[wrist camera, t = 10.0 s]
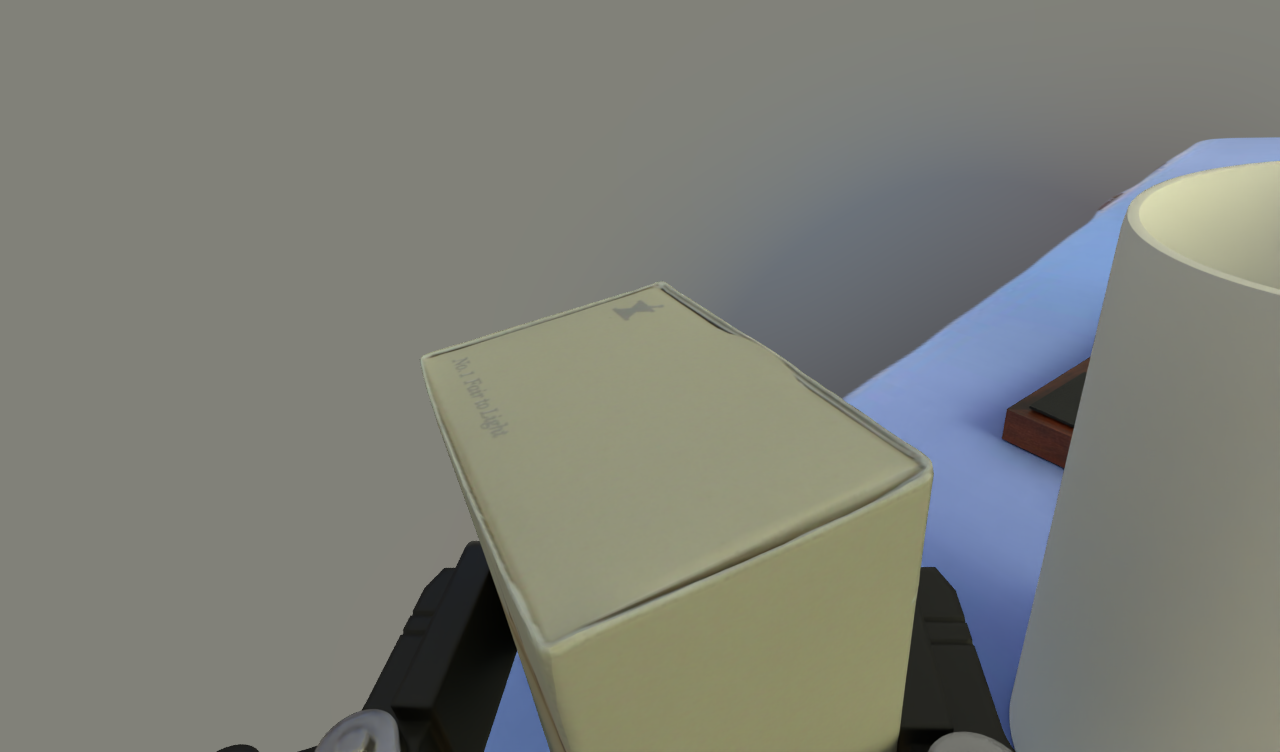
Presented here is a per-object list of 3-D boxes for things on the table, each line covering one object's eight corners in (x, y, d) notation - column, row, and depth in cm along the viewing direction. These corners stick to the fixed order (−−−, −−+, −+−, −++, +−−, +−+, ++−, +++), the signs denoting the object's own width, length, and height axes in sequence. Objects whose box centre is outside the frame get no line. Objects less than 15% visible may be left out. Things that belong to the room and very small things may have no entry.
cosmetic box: (561, 790, 16) (401, 352, 10) (719, 703, 18) (660, 271, 12) (684, 1133, 11) (509, 664, 5) (894, 974, 13) (953, 453, 6)
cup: (1011, 612, 24) (1107, 161, 16) (1315, 685, 21) (1636, 150, 12) (1005, 848, 18) (1154, 312, 10) (1436, 1009, 14) (2215, 378, 6)
